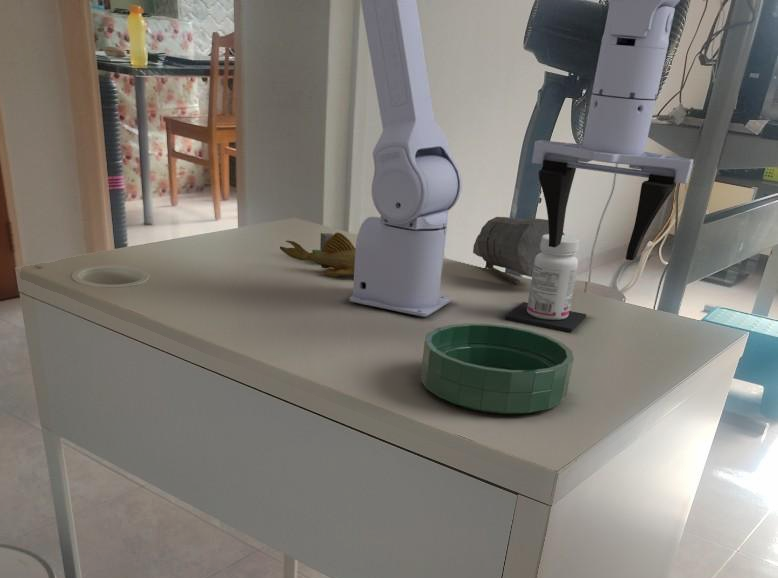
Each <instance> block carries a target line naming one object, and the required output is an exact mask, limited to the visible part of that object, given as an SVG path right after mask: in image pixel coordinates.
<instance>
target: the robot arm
mask: <svg viewBox="0 0 778 578" xmlns="http://www.w3.org/2000/svg"><path fill="white" fill-rule="evenodd" d="M680 2H681V0H607V3H608V10H607V15H606V21H605V26H604V31H603V34H602V37H601V41H600V42H601V43H600V49H599V53H598V59H597V64H596V70H595V76H594V81H593V86H592V92H591V96H590V102H589V107H588V112H587V116H586V117H587V118H586V123H585V127H584V128H585V130H584V133H583V140H582V143H575V142H574V143H573V142H562V141H561V142H560V141H552V140H543V139H538V140H536V141H535V142H534V147H533V151H532V152H533V153H532V158H531V164H537V165H542V166H541V169H540V170H538V180H539V183H540V187H541V189H542V193H543V198H544V202H545V207H546V213H547V214H546V215H547V220H548V224H549V247H557V246H558V245H560V243H561V239H562V234H563V233H564V228H565V227H564V226H565V219H566V212H567V206H568V202H569V198H570V194H571V189H572V185H573V182H574V178H575V174H576V170H577V169H579V170H587V171H594V172H595V171H596V172H601V173H602V172H603V173H609V174H617V175H625V176H631V177H640V178H647V180H644V181H643V182H642V183H641V186H640V193H639V199H638V206H637V210H636V214H635V215H636V216H635V222H634V226H633V229H632V233H631V236H630V239H629V242H628V246H627V248H626V249H627V250H626V255H625V260H627V261H634V260H635V259H637V257H638V253H639V250H640V249H641V248H640V247H641V245H642V242H643V240H644V238H645V236H646V234H647V233H648V230H649V228H650V226H651V225H652V222H653V221H654V220H655V218H656V216H657V215H658V213H659V211H660V210H661V208H662V207H663V205H664V203H665V202H666V201H667V199H668V198H669V197H670V195H671V194H672V193H673V191H674V189H675V188H676V186H677V184H683V185H684V184H687V183H688V182H689V181H690V176H691V173H692V169H693V165H694V159H693V158H686V157H680V156H679V157H678V156H673V155H668V154H667V155H666V154H660V153H655V152H648V151H645V150H646V146H647V142H648V137H649V133H650V129H651V124H652V119H653V116H654V115H653V114H654V110H655V107H656V103H657V102H656V101H657V98H658V92H659V88H660V84H661V81H662V75H663V70H664V66H665V62H666V58H667V53H668V49H669V44H670V40H669V39H670V34H671V28H672V25H673V20H674V15H675V10H676V8H675V7H676V6H677V5H679V3H680ZM360 4H361V9H362V15H363V21H364V26H365V27H364V28H365V34H366V39H367V45H368V50H369V57H370V62H371V68H372V74H373V78H374V85H375V91H376V97H377V103H378V108H379V114H380V120H381V126H382V131H381V134H380V135H379V138H378V140H377V142H376V144H375V146H374V148H373V150H372V159H373V165H374V170H373V171H374V172H373V178H372V183H371V197H372V201H373V205H374V207H375V209H376V211H377V212H378V214H379V215H380V217H379V216H369V217H366V218H365V219H364V220H363V221H362V223H361V225H360V227H359V230H358V233H357V237H356V241H355V242H356V243H355V248H356V250H355V267H354V275H353V283H352V284H353V287H352V296H349V302H351V303H356V304H360V305H364V306H369V307H374V308H378V309H383V310H389V311H393V312H399V313H403V314H407V315H413V316H418V317H423V318H425V317H428V316H430V315H432V314H433V313H435V312H437V311H438V310H440V309H441V308H443V307H445V306H446V305H448V304H449V303H451V298H450V297H449V296H444V295H440V290H441V281H442V273H443V265H444V257H445V256H444V255H445V248H446V247H445V246H446V239H447V238H446V237H447V230H448V229H447V228H448V221H449V220H448V217H449V216H448V215H449V211H450V210H451V209H453V208H454V206H455V205H456V204H457V202H458V200H459V198H460V196H461V194H462V186H463V180H462V173H461V171H460V168H459V166H458V165H457V164H456V162H455V160H454V159H453V157H452V154H451V151H450V146H449V140H448V138H447V136H446V135H445V134H444V132H443V130H442V129H441V127H440V126H439V125H438V123H437V121H436V120H435V116H434V108H433V103H432V96H431V89H430V83H429V82H430V81H429V76H428V69H427V62H426V55H425V49H424V43H423V35H422V29H421V22H420V16H419V10H418V3H417V0H360ZM591 161H593V162H598V163H591ZM589 162H590V163H589ZM599 162H600V163H607V164H616V165H617V164H618V165H628V167H619V166H612V165H606V164H605V165H604V164H599Z"/></svg>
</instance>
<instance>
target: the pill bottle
mask: <svg viewBox="0 0 778 578" xmlns="http://www.w3.org/2000/svg"><path fill="white" fill-rule="evenodd" d="M579 241H580V240H579V238H578V237H575V236H572V235H567V234H565V235H562V239H561V243H560V245H558V246H557V247H549V234H546V235H543V236H542V239H541V244H540V247H541V248H540V250H541V251H542V252H541V253H539V254H538V255H537V256H536V258H535V262H534V268H533V274H532V277H531V280H530V281H531V282H530V286H529V287H530V288H529V294H528V300H527V303H528V305H527V312H528V313H529V314H530V315H531V316H533V317H536V318H540V319H545V320H562V319H565V318H567V317H568V315H569V311H571V304H572V300H573V295H574V294H573V293H574V288H575V284H576V278H577V272H578V267H579V259H578V258H577V257H576V256H575V255H576V254H577V253H578V250H579V243H580V242H579Z"/></svg>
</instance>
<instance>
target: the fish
mask: <svg viewBox="0 0 778 578" xmlns="http://www.w3.org/2000/svg"><path fill="white" fill-rule="evenodd" d="M285 242H286V243H288V244H290V245H292V246H293V247H285V246H279V249H280V250H281V251H282V252H283V253H284V254H285V255H287V256H289V257H290V258H292V259H295V260H299V261H309V262H313V263H316V264H317V263H318V264H320V267H321V269H325V270H323V276H328V277H333V278H336V277H341V276H354V267H355V250H356V246H354V244H353V243H352V242H351V240H350V239H349V238H348V237H347V236H346V235H344V234H343V233H341V232H334V233H333V236H332V237H331V238H329V239H328V240H327V241H326V243H325V245H324V247H323V248H324V249H323V250H322V252H329V253H316V252H315V251H313V250H314V249H311V251H312V252H309V251H307V250H306V249H305V248H304V247H303V246H301V244H299V243H298V242H295V241H293V240H285Z"/></svg>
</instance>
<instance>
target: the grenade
mask: <svg viewBox="0 0 778 578" xmlns="http://www.w3.org/2000/svg"><path fill="white" fill-rule="evenodd" d="M546 234H549V224H548V219H546V218H545V219H543V218H534V217H533V218H532V217H531V218H530V217H529V218H526V219H523V218H516V217H515V218H514V217H507V216H495V217H494V218H490V219H489V220H487V222H486V223H485V224H484V225H483V226H482V227H481V230H480V232H479V233H478V235H476V236H477V237H476V239H475V241H474V244H473V248H472V254H474V255H475V256H478V257H479V258H482V260H483V261H484V262H485V266H486V269H487V270H489V271H492V272H494V273H495V274H497V275H500V276H502V277H504V278H506V279H507V280H510V281H511V282H512V283H513V284H514V285H521V283H522V281H521V279H518V278H516V277H514V276H512V275H510V274H508V273H506V272H504V271H501V270H499V269H498V268H496V267H500V268H504V269H508V270H511V271H514V272H517V273H518V274H520V275H521V276H526V277H530V278H532V274H533V268H534V262H535V258H536V256H537V255H538V254H539V253H541V252H542V251H541V250H540V248H541V247H540V244H541V239H542V236H543V235H546ZM562 235H566V234H565V233H564V232H563V234H562Z"/></svg>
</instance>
